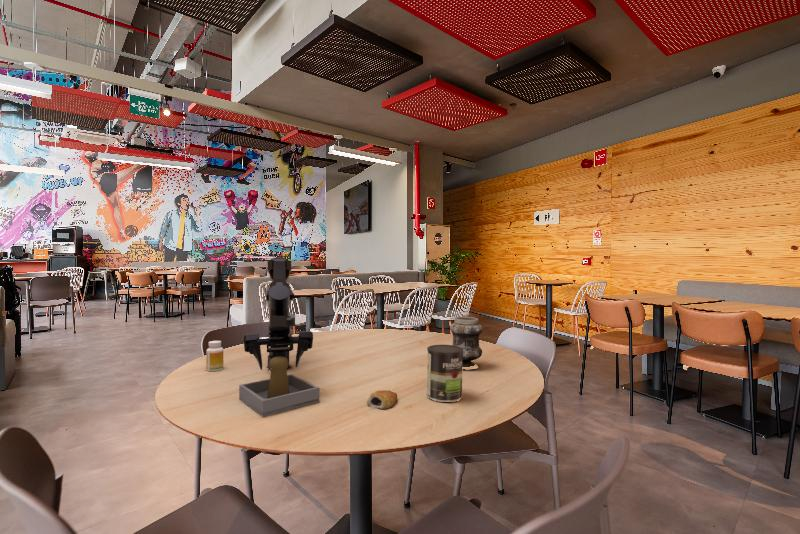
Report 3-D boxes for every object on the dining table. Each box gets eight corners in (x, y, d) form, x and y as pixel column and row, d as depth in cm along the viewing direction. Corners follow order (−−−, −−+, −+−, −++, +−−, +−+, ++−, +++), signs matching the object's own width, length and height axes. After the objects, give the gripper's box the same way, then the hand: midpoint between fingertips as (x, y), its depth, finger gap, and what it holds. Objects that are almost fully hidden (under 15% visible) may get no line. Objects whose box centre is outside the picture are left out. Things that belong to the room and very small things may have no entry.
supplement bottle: (226, 368, 142) (226, 341, 142) (214, 372, 137) (214, 344, 137) (215, 366, 144) (215, 339, 144) (202, 370, 140) (202, 342, 139)
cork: (290, 399, 111) (291, 359, 110) (267, 401, 108) (268, 360, 108) (288, 392, 116) (289, 353, 116) (266, 394, 114) (267, 355, 114)
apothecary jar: (486, 365, 150) (487, 317, 150) (474, 373, 140) (475, 321, 139) (457, 360, 157) (457, 314, 156) (443, 367, 147) (443, 318, 146)
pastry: (382, 396, 117) (383, 383, 117) (403, 401, 114) (403, 387, 114) (364, 406, 109) (365, 392, 109) (386, 412, 106) (386, 397, 106)
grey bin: (292, 387, 123) (292, 374, 123) (319, 402, 112) (319, 387, 111) (239, 399, 113) (239, 384, 113) (262, 417, 101) (262, 401, 101)
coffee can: (469, 399, 115) (470, 350, 115) (439, 405, 110) (439, 354, 110) (449, 388, 124) (449, 342, 124) (419, 393, 119) (420, 346, 119)
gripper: (244, 305, 112) (240, 354, 102) (312, 303, 118) (315, 350, 107) (246, 328, 120) (243, 375, 110) (310, 325, 126) (313, 371, 115)
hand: (279, 367), depth 111 cm, fingers open, 9 cm apart
